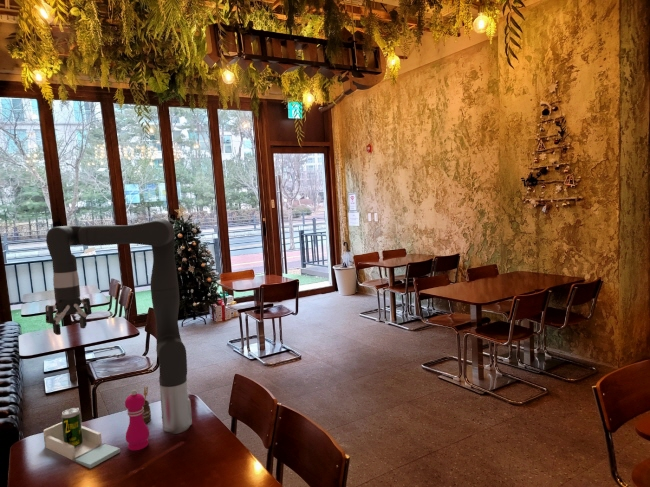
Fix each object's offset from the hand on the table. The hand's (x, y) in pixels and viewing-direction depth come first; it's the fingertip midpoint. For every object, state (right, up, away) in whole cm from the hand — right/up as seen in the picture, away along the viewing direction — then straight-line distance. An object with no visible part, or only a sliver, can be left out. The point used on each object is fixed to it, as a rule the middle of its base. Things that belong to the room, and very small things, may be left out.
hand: (70, 331), depth 152 cm
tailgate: (+11, -38, -9) cm, 40 cm away
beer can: (+3, -38, -4) cm, 38 cm away
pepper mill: (+25, -38, -5) cm, 46 cm away
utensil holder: (+19, -37, +14) cm, 43 cm away
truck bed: (+3, -39, -4) cm, 39 cm away
